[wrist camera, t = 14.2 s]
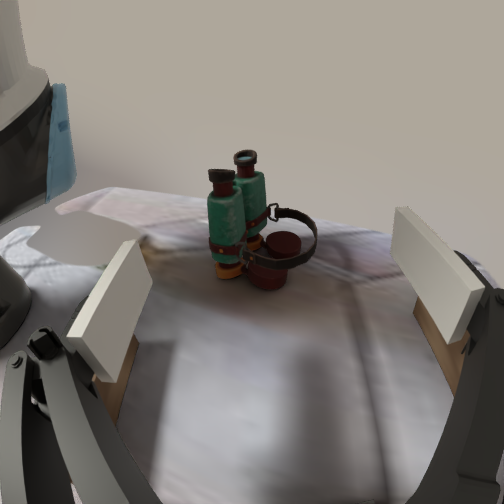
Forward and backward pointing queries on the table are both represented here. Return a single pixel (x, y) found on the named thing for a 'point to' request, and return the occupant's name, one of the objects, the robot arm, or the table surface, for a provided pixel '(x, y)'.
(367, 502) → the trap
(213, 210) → the binoculars
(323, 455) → the table surface
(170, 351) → the table surface
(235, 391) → the table surface
